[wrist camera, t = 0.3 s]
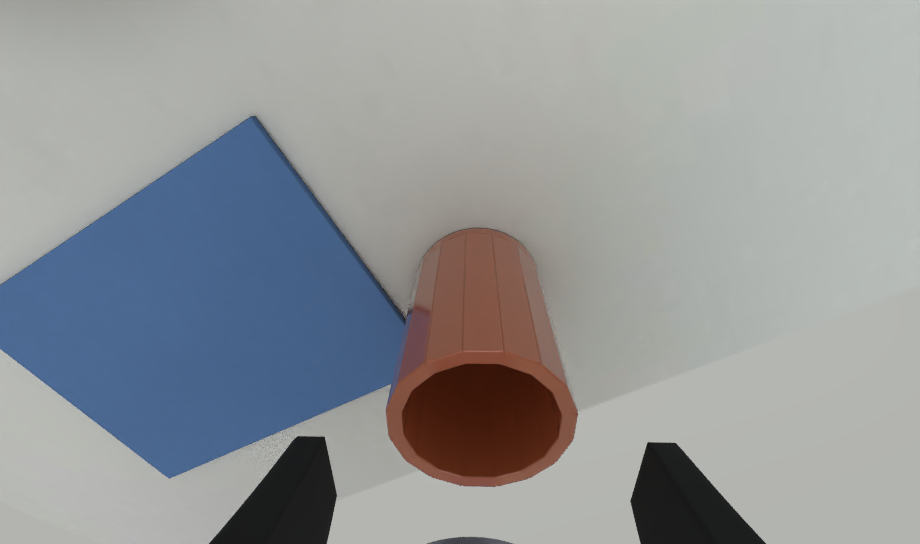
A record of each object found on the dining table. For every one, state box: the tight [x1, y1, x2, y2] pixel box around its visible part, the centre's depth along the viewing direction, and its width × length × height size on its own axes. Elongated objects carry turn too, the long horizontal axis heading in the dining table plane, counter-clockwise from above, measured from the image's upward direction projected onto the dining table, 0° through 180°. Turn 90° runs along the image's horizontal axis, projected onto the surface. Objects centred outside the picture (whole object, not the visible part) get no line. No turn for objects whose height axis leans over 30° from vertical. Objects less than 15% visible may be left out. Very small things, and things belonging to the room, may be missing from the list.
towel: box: [0, 116, 406, 478], centre depth 21 cm, size 18×13×1 cm
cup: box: [386, 228, 578, 487], centre depth 16 cm, size 5×5×8 cm
